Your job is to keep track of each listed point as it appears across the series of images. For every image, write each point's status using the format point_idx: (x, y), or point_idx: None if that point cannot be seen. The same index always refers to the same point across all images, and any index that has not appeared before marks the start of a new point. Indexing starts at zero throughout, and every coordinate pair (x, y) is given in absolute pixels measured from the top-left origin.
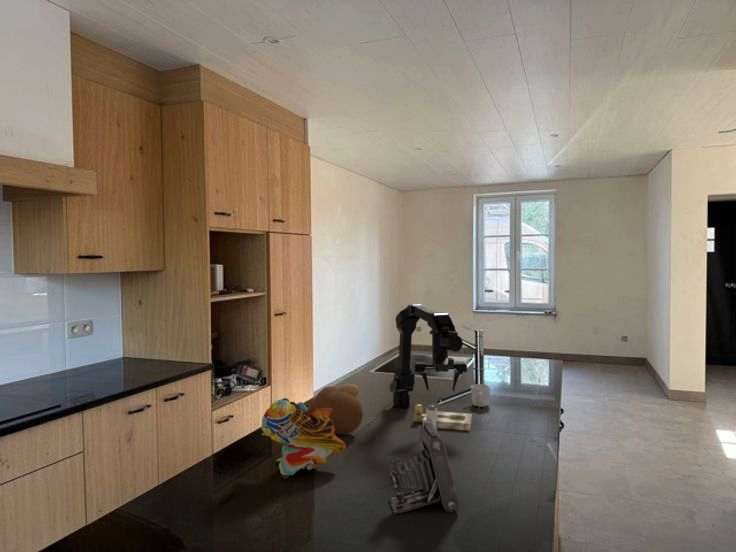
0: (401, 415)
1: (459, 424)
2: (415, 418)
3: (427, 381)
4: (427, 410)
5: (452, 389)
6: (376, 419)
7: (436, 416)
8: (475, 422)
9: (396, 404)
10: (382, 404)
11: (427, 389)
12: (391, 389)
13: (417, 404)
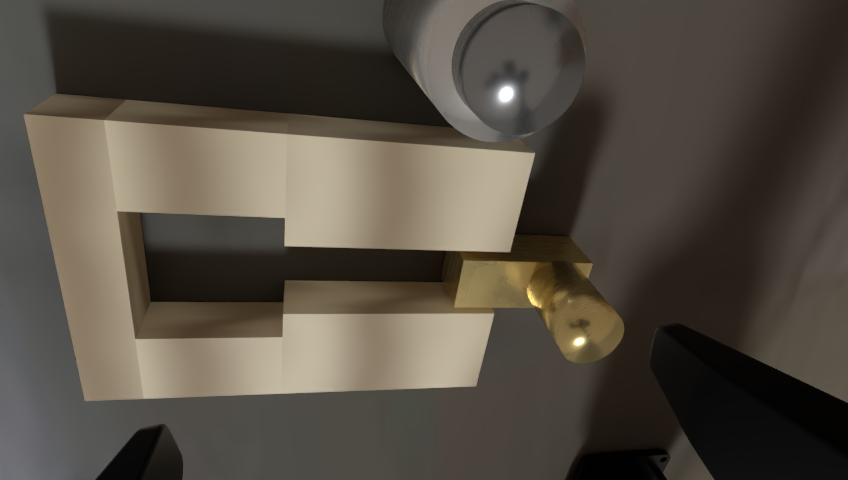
0: (635, 340)
1: (157, 119)
2: (570, 249)
3: (843, 451)
4: (570, 3)
5: (177, 461)
6: (812, 232)
7: (422, 2)
8: (62, 324)
9: (651, 472)
10: (707, 476)
11: (685, 330)
12: None
13: (601, 349)
